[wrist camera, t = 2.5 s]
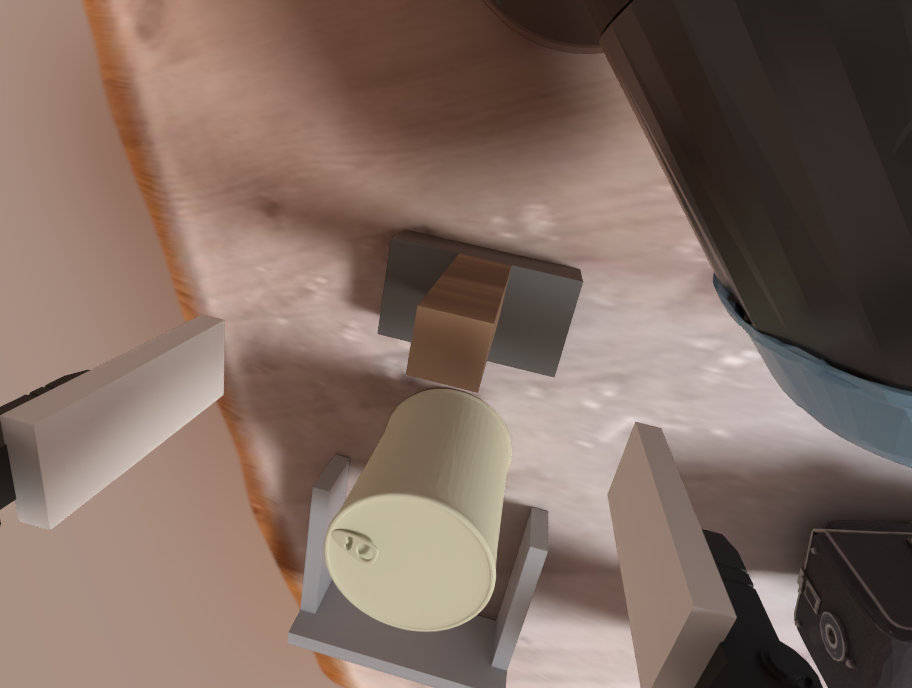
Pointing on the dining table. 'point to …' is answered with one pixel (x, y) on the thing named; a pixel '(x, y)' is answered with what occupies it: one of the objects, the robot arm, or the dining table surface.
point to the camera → (858, 603)
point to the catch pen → (404, 651)
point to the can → (425, 515)
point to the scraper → (474, 308)
